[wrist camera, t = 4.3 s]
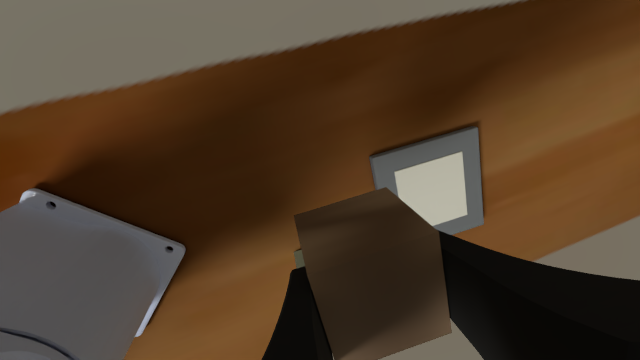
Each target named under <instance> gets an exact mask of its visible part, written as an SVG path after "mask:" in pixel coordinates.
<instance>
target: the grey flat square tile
mask: <svg viewBox="0 0 640 360" xmlns="http://www.w3.org/2000/svg"><path fill="white" fill-rule="evenodd" d="M369 158H370V163H371V168H372V174H373V179H374V184H375V189H376V190H378V189H381V188H385V187H387V188H388V189H389V190H390V191H392V192H393V193H394V194H395V195H396V196H397V197H399V198H400V199H401V200H402V201H403V202H404V203H406V204H407V205H408V206H409V207H410V208H412V209H413V210H414V211H415V212H416V213H417V214H419V215H420V216H421V217H422V218H423V219H424V220H426V221H427V222H428V223H429V224H430V225H432V226H433V227H434V228H435V229H436V230H439V231H442V232H444V233H447V234H449V235H453V234H456V233H459V232H462V231H465V230H468V229H471V228H474V227H477V226H480V225H483V224H484V221H483V204H482V187H481V171H480V154H479V138H478V127H474V126H471V127H468V128H464V129H461V130H458V131H454V132H451V133H447V134H444V135H441V136H437V137H434V138H430V139H427V140H424V141H420V142H417V143H413V144H410V145H407V146H403V147H400V148H396V149H393V150H390V151H386V152H383V153H379V154H376V155H373V156H369Z"/></svg>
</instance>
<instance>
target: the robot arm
mask: <svg viewBox="0 0 640 360" xmlns="http://www.w3.org/2000/svg"><path fill="white" fill-rule="evenodd" d="M50 201H51V202H54V203H55V204H56V207H53V206H52V205H51V204H50ZM437 231H439V230H437ZM439 238H440V245H441V253H442V261H443V269H444V276H445V284H446V292H447V300H448V307H449V315H450V318H451V319H452V321H453V322H454V323H455V324H456V326H457V327H458V328H459V329H460V330H461V332H462V333H463V334H464V335H465V336H466V338H467V339H468V340H469V341H470V343H472V345H473V346H474V347H475V349H476V350H477V351H478V352H479V354H480V355H481V356H482V358H483V359H484V360H640V281H638V280H631V279H622V278H614V277H607V276H601V275H594V274H588V273H583V272H577V271H572V270H566V269H561V268H556V267H552V266H547V265H542V264H539V263H535V262H531V261H527V260H523V259H520V258H516V257H512V256H509V255H506V254H503V253H500V252H496V251H493V250H490V249H487V248H484V247H482V246H479V245H476V244H473V243H470V242H468V241H465V240H462V239H460V238H457V237H455V236H452V235H449V234H447V233H444V232H442V231H439ZM167 246H171V247H172V248H173V250H169V249H167ZM185 251H186V249H185V246H184V245H182V244H180V243H178V242H175V241H173V240H170V239H167V238H165V237H162V236H160V235H157V234H154V233H152V232H149V231H146V230H144V229H141V228H139V227H136V226H133V225H131V224H128V223H126V222H123V221H120V220H118V219H115V218H113V217H110V216H107V215H105V214H102V213H100V212H97V211H94V210H92V209H89V208H87V207H84V206H81V205H79V204H76V203H73V202H71V201H68V200H66V199H63V198H60V197H58V196H55V195H53V194H50V193H47V192H45V191H42V190H40V189H36V188H33V189H29V190H27V191H25V192H24V193H23V194H22V197H21V199H20V202H19V204H17V205H15V206H12V207H10V208H8V209H6V210H4V211H2V212H0V360H123V359H124V357H125V355H126V353H127V351H128V349H129V347H130V345H131V343H132V341H133V339H134V337H137V336H140V335H141V334H142V333H143V331H144V329H145V327H146V325H147V323H148V321H149V320H150V318H151V316H152V314H153V312H154V310H155V308H156V306H157V305H158V303H159V301H160V299H161V297H162V295H163V293H164V291H165V290H166V288H167V286H168V284H169V282H170V280H171V278H172V276H173V275H174V273H175V271H176V269H177V267H178V265H179V263H180V261H181V260H182V258H183V256H184V254H185ZM262 360H333V356H332V350H331V347H330V344H329V341H328V338H327V335H326V332H325V329H324V326H323V323H322V320H321V316H320V313H319V310H318V307H317V304H316V301H315V298H314V295H313V292H312V289H311V286H310V282H309V279H308V276H307V272H306V268H305V266H303V267H300V268H297V269H294V270H292V271H291V273H290V279H289V284H288V288H287V292H286V296H285V300H284V303H283V307H282V310H281V313H280V316H279V319H278V322H277V324H276V327H275V330H274V332H273V335H272V338H271V340H270V342H269V345H268V347H267V349H266V351H265V354H264V356H263V358H262Z"/></svg>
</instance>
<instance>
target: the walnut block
mask: <svg viewBox="0 0 640 360" xmlns="http://www.w3.org/2000/svg"><path fill="white" fill-rule="evenodd" d="M294 218H295V223H296V227H297V232H298V236H299V241H300V245H301V250H302V254H303V259H304V263H305V268H306V272H307V276H308V279H309V282H310V286H311V289H312V292H313V295H314V298H315V301H316V304H317V307H318V310H319V313H320V316H321V320H322V323H323V326H324V329H325V332H326V335H327V338H328V341H329V344H330V347H331V350H332V353H333V356H334V360H378V359H380V358H383V357H386V356H389V355H391V354H394V353H397V352H400V351H403V350H405V349H408V348H411V347H413V346H416V345H419V344H422V343H425V342H427V341H430V340H433V339H436V338H438V337H441V336H444V335H447V334H449V333H452V330H451V323H450V315H449V307H448V300H447V292H446V284H445V276H444V269H443V261H442V253H441V245H440V238H439V231H437V230H436V229H435V228H434V227H433V226H432V225H430V224H429V223H428V222H427V221H426V220H424V219H423V218H422V217H421V216H420V215H419V214H417V213H416V212H415V211H414V210H413V209H412V208H410V207H409V206H408V205H407V204H406V203H404V202H403V201H402V200H401V199H400V198H399V197H397V196H396V195H395V194H394V193H393V192H392V191H390V190H389V189H388V188H387V187H385V188H381V189H378V190H375V191H372V192H369V193H365V194H362V195H359V196H356V197H352V198H349V199H346V200H343V201H339V202H336V203H333V204H330V205H327V206H323V207H320V208H317V209H314V210H310V211H307V212H304V213H301V214H298V215H294Z"/></svg>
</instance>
